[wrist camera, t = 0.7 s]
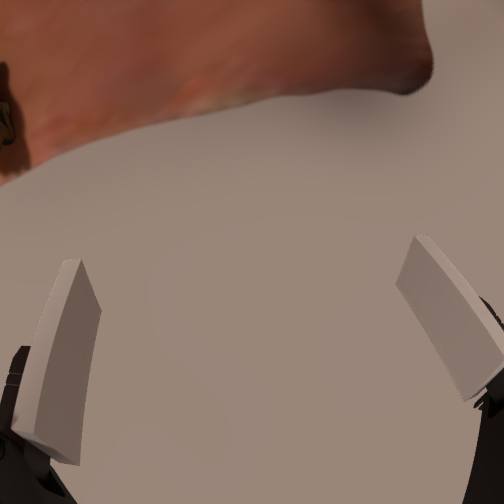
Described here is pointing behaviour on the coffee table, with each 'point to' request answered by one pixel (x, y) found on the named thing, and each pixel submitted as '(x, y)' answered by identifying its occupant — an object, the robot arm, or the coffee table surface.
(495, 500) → the robot arm
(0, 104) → the sculpture
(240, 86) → the coffee table surface
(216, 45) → the coffee table surface
